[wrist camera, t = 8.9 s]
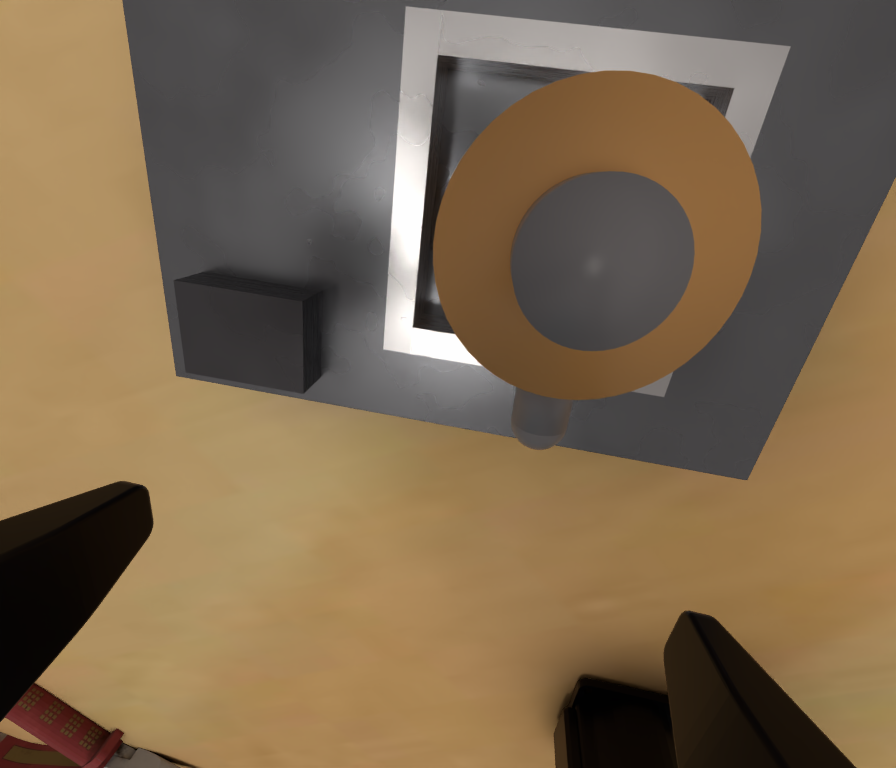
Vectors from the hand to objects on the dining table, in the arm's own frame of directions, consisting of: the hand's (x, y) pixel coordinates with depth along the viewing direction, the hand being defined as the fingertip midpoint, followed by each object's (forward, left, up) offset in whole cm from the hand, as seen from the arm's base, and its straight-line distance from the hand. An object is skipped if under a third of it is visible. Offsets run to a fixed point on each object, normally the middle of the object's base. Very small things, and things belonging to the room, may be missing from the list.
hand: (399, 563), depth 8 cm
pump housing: (-2, -5, -8) cm, 9 cm away
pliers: (+26, +39, -12) cm, 49 cm away
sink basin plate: (0, -5, -12) cm, 13 cm away
